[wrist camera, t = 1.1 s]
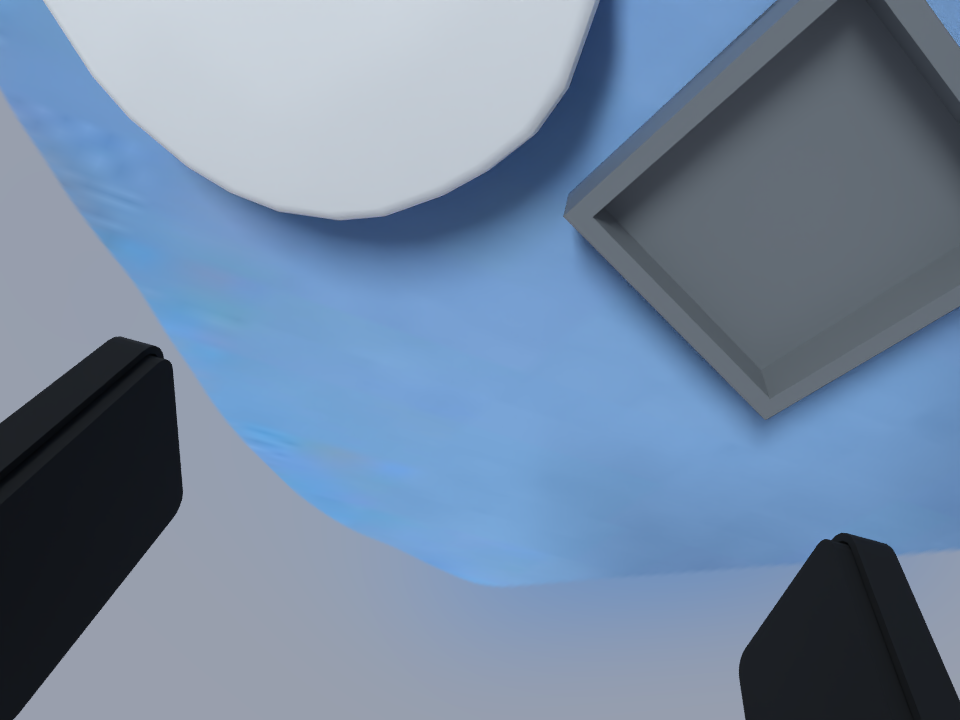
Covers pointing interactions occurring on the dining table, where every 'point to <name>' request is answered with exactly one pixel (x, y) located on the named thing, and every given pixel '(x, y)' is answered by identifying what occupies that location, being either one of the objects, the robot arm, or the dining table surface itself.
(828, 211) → the tray
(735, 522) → the dining table surface
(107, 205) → the dining table surface
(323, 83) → the plate
